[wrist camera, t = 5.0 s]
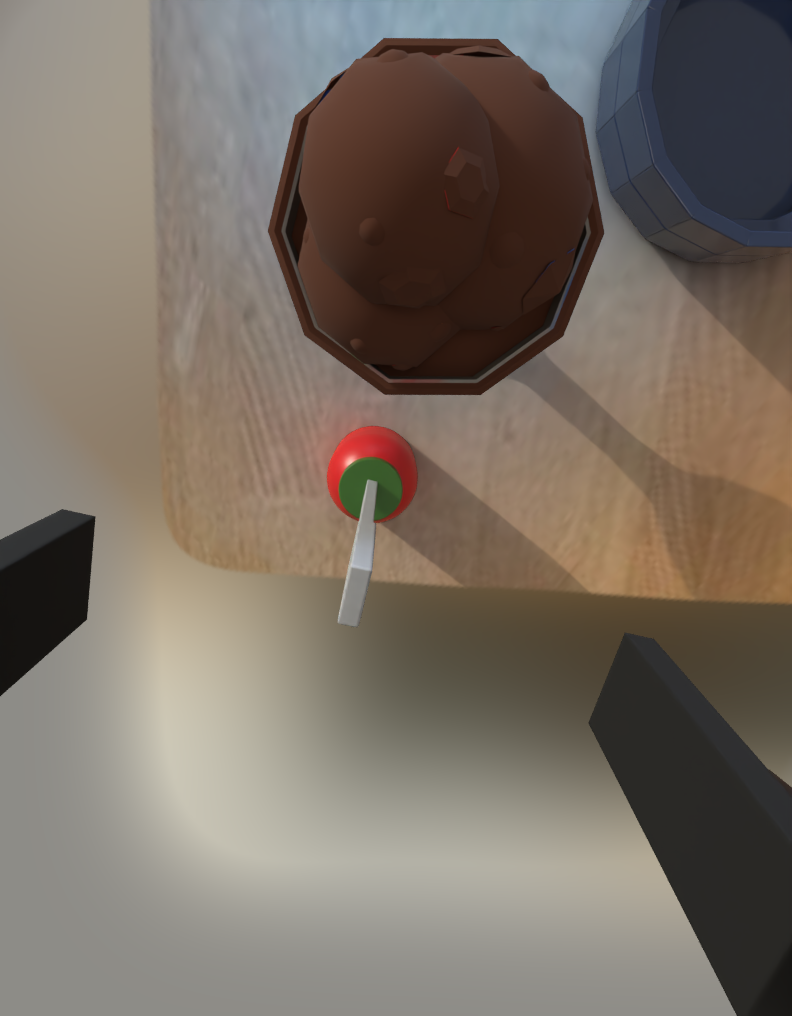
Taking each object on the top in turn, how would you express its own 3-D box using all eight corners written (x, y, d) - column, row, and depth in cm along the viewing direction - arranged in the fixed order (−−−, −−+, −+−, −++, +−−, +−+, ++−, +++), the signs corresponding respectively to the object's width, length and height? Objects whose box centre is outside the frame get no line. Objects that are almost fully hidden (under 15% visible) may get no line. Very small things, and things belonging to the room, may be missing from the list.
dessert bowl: (558, 10, 24) (599, -72, 19) (862, -131, 23) (987, -258, 18) (632, 306, 28) (683, 298, 23) (898, 199, 26) (1011, 167, 21)
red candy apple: (324, 497, 30) (256, 653, 15) (341, 417, 29) (285, 498, 14) (404, 515, 31) (416, 685, 15) (424, 436, 29) (459, 538, 14)
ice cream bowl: (357, 409, 29) (323, 475, 15) (281, 184, 26) (143, -11, 12) (551, 346, 28) (716, 350, 14) (496, 105, 25) (636, -213, 11)
